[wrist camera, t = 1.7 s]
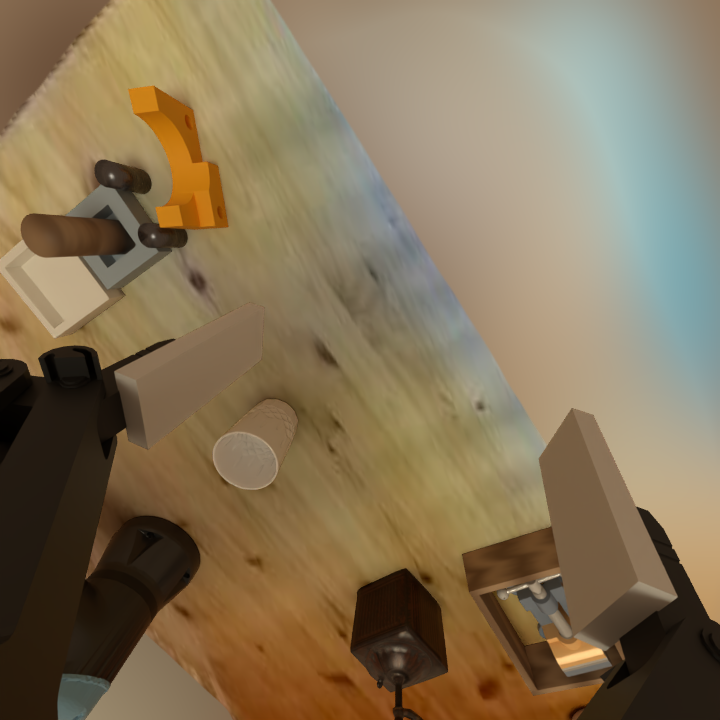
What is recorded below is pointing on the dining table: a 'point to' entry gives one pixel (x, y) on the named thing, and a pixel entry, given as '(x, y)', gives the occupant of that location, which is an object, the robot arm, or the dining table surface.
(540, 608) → the vise
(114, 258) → the jig block
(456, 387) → the dining table surface
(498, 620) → the tool caddy
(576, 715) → the teacup
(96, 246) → the dowel
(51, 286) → the tray
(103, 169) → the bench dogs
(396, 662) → the coffee grinder
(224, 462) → the white cup
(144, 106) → the pipe clamp
